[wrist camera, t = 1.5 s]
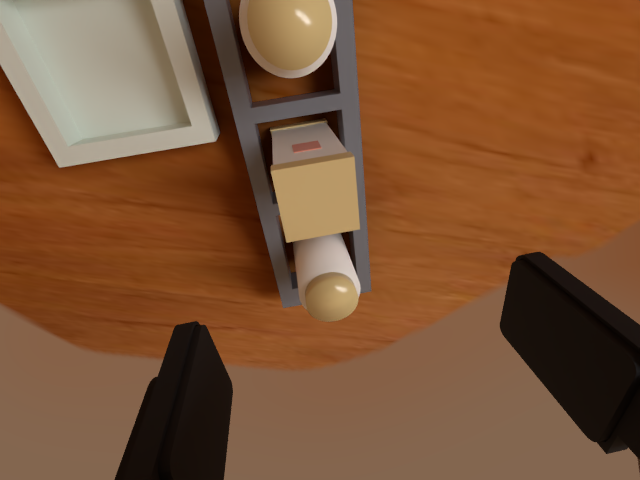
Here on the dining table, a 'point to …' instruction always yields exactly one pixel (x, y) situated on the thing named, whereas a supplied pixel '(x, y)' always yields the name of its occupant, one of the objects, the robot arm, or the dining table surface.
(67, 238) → the dining table surface
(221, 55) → the holder
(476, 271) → the dining table surface
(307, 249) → the post
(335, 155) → the block
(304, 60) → the post
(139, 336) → the dining table surface
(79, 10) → the tray
